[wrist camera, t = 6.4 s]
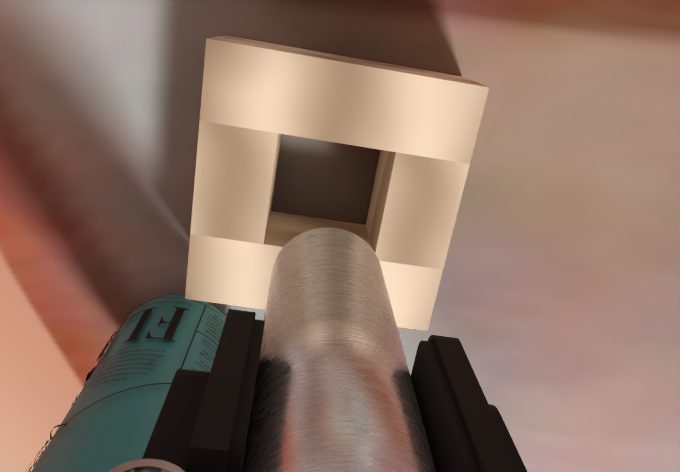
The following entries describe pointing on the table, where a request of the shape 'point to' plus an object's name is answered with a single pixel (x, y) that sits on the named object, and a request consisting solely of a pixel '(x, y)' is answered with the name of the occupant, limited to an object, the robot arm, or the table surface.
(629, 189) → the table surface
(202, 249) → the bore block
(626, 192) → the table surface
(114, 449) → the beverage bottle
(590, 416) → the table surface
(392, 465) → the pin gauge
